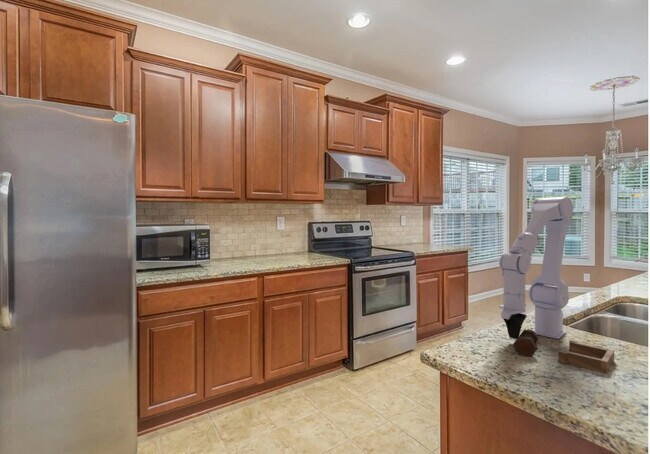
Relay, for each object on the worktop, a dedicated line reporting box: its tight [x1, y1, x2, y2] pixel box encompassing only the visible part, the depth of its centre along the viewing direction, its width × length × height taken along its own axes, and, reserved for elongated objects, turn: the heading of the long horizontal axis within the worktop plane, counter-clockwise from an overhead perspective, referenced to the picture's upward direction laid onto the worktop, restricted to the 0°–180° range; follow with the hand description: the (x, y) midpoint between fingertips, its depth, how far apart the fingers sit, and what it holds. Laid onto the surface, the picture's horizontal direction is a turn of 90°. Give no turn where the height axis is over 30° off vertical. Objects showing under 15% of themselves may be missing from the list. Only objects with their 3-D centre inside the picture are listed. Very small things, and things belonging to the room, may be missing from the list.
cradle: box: [557, 339, 615, 374], centre depth 91 cm, size 13×10×3 cm
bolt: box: [512, 328, 540, 358], centre depth 101 cm, size 6×5×15 cm
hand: (513, 337), depth 104 cm, fingers closed
